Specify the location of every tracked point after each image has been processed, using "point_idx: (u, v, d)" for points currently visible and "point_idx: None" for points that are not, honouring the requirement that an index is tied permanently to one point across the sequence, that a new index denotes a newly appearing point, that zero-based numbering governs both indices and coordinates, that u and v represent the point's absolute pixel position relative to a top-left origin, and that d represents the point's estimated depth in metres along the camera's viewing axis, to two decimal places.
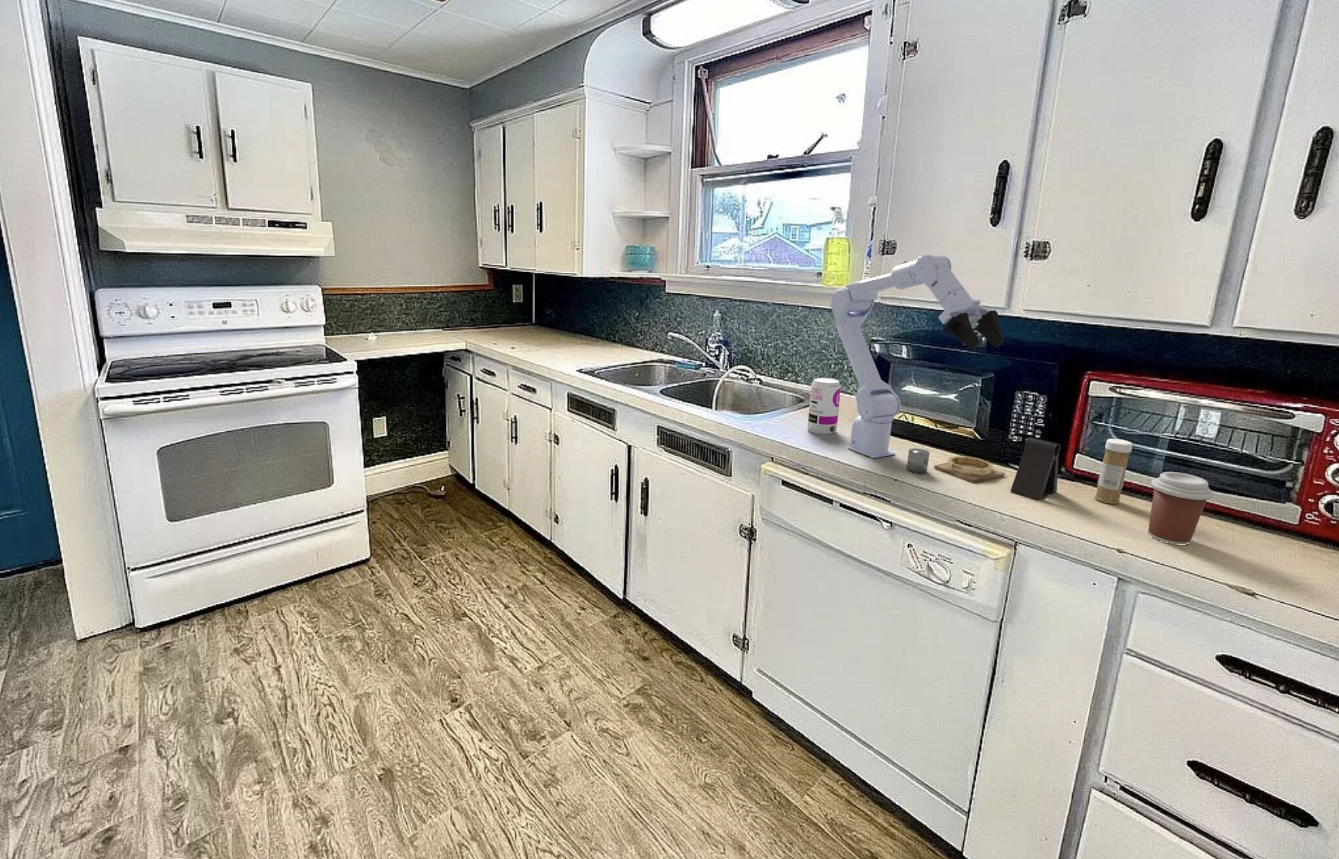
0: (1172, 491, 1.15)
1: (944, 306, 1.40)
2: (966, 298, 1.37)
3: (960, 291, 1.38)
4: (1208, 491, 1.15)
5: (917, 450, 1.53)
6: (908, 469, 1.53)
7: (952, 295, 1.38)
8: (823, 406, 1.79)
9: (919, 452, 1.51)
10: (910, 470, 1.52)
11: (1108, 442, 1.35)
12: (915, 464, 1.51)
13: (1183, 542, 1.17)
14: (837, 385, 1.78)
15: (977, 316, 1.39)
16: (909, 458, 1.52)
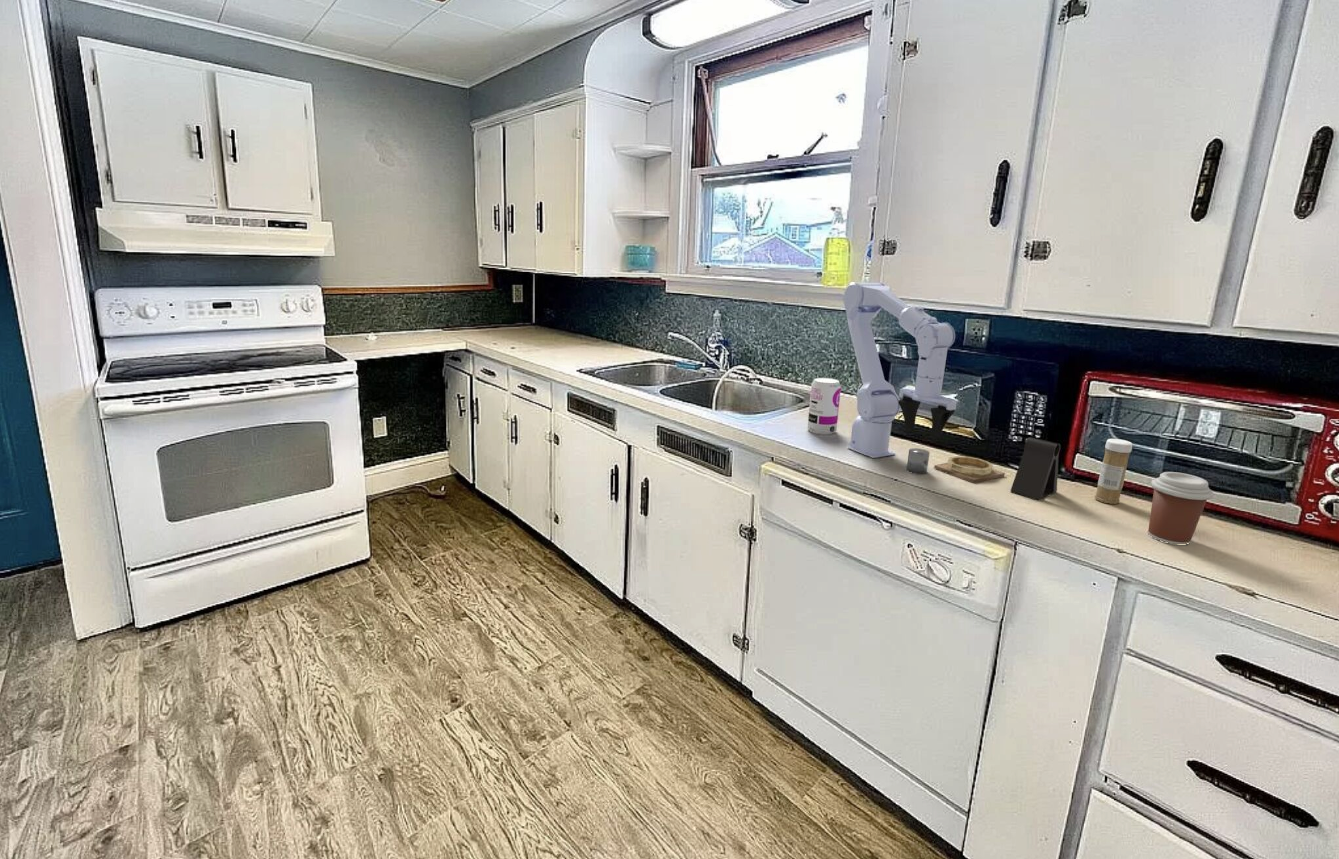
0: (1172, 491, 1.15)
1: None
2: (917, 388, 1.48)
3: (918, 379, 1.47)
4: (1208, 491, 1.15)
5: (917, 450, 1.53)
6: (908, 469, 1.53)
7: (916, 378, 1.49)
8: (823, 406, 1.79)
9: (919, 452, 1.51)
10: (910, 470, 1.52)
11: (1108, 442, 1.35)
12: (915, 464, 1.51)
13: (1183, 542, 1.17)
14: (837, 385, 1.78)
15: (935, 403, 1.46)
16: (909, 458, 1.52)
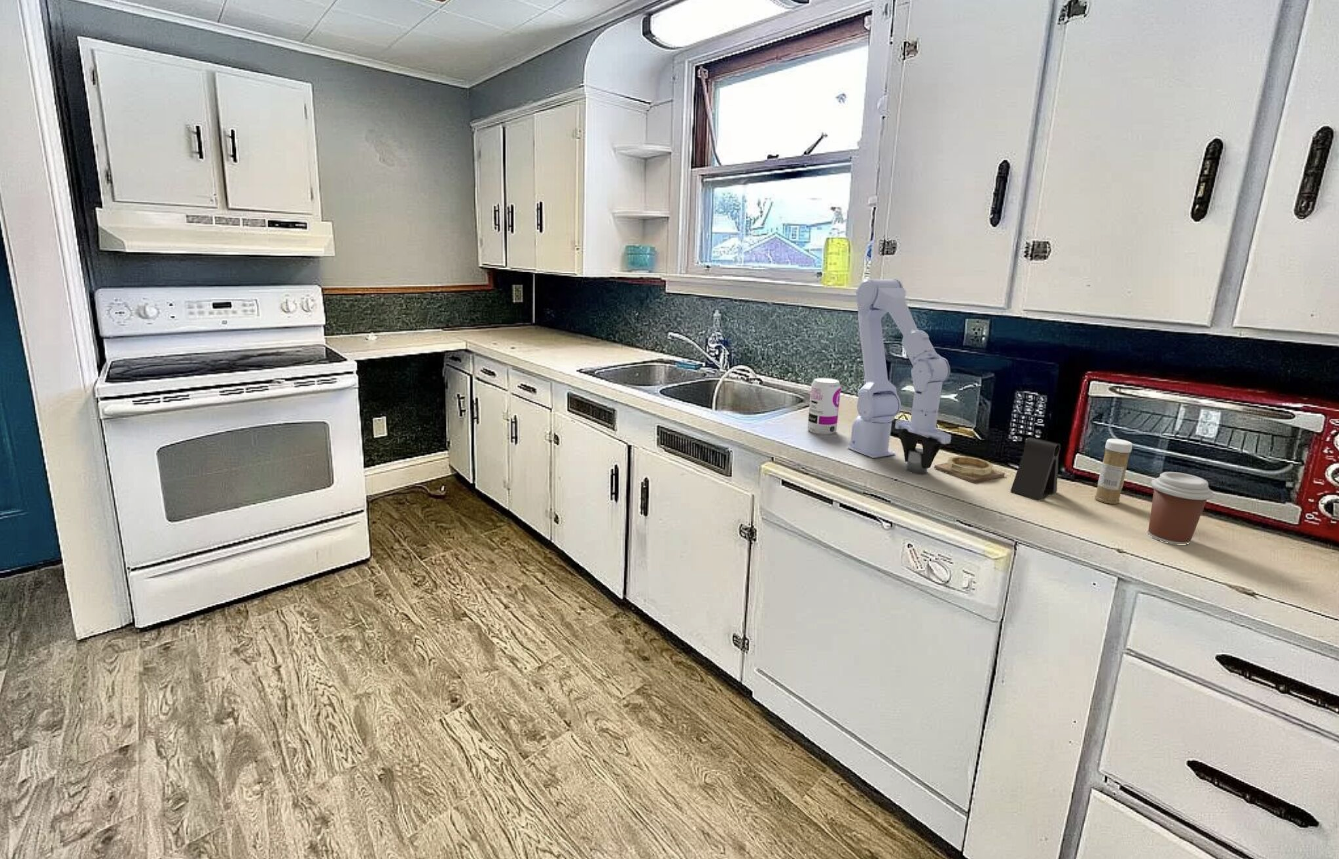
0: (1172, 491, 1.15)
1: None
2: (912, 421, 1.50)
3: (913, 412, 1.49)
4: (1208, 491, 1.15)
5: (917, 450, 1.53)
6: (908, 469, 1.53)
7: None
8: (823, 406, 1.79)
9: (919, 452, 1.51)
10: (910, 470, 1.52)
11: (1108, 442, 1.35)
12: (915, 464, 1.51)
13: (1183, 542, 1.17)
14: (837, 385, 1.78)
15: (930, 436, 1.49)
16: (909, 458, 1.52)
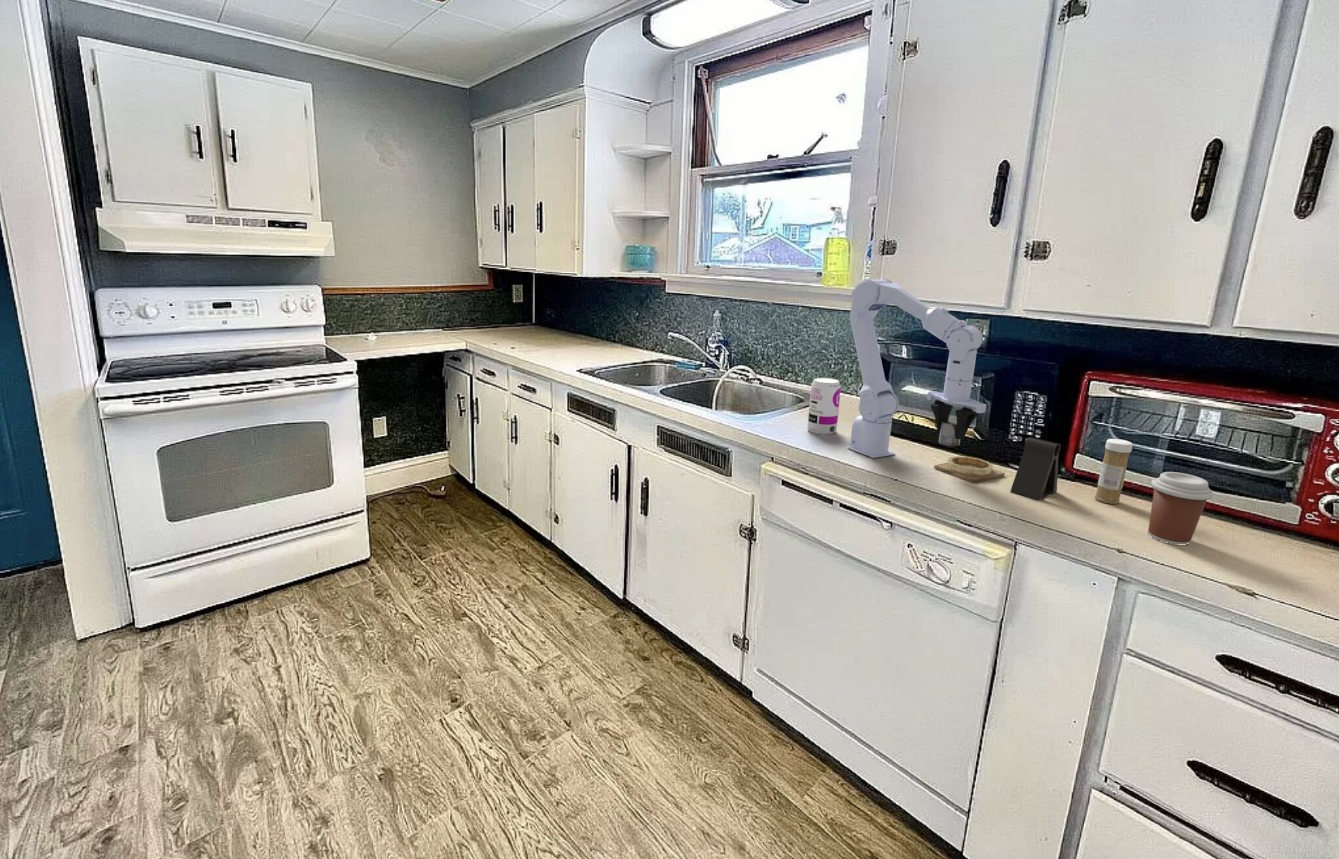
0: (1172, 491, 1.15)
1: None
2: (945, 391, 1.48)
3: (947, 382, 1.47)
4: (1208, 491, 1.15)
5: (950, 421, 1.51)
6: (940, 441, 1.51)
7: (945, 380, 1.49)
8: (823, 406, 1.79)
9: (952, 423, 1.49)
10: (942, 442, 1.50)
11: (1108, 442, 1.35)
12: (948, 436, 1.49)
13: (1183, 542, 1.17)
14: (837, 385, 1.78)
15: (964, 406, 1.47)
16: (941, 429, 1.50)
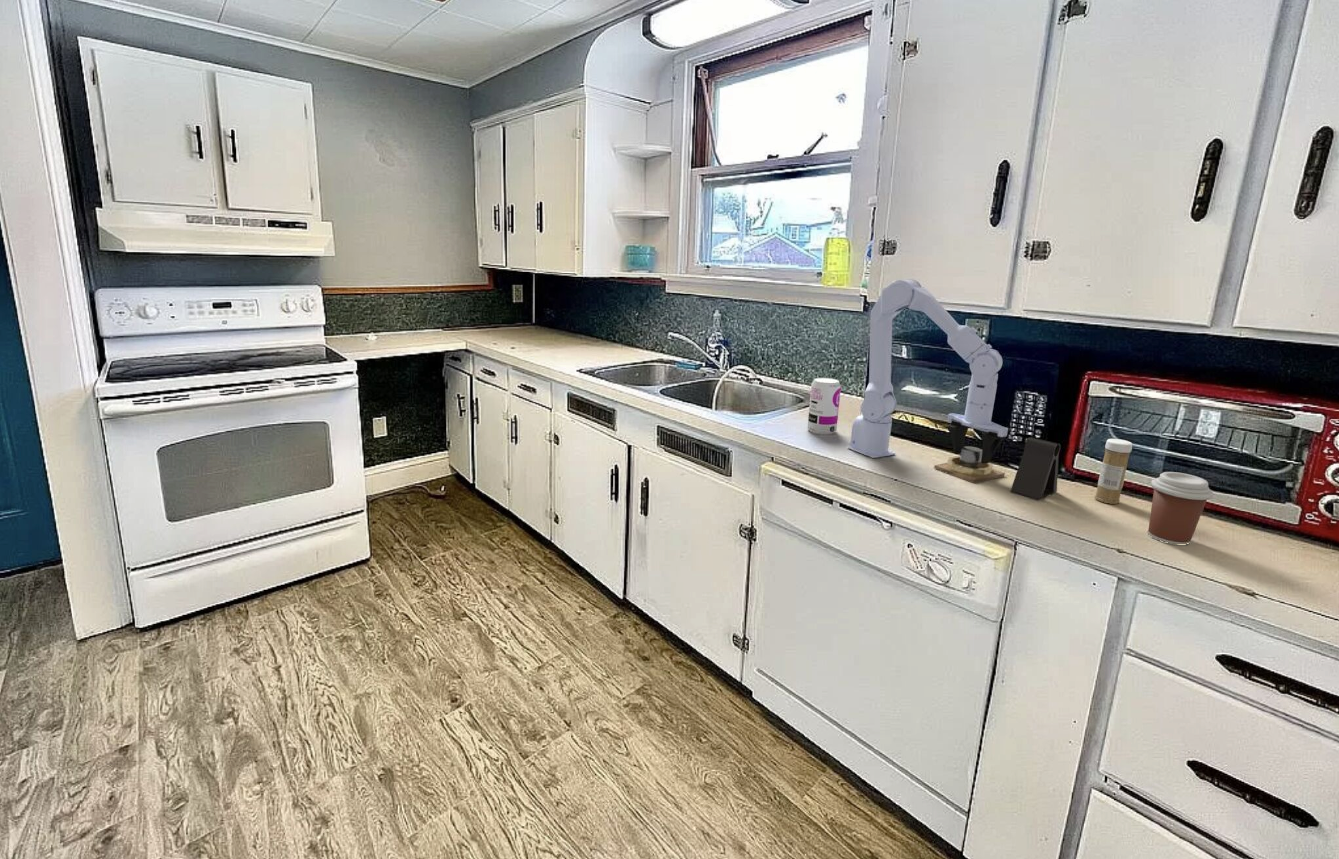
0: (1172, 491, 1.15)
1: None
2: (967, 414, 1.49)
3: (968, 405, 1.49)
4: (1208, 491, 1.15)
5: (970, 448, 1.53)
6: None
7: (966, 403, 1.50)
8: (823, 406, 1.79)
9: (972, 450, 1.51)
10: None
11: (1108, 442, 1.35)
12: (968, 462, 1.51)
13: (1183, 542, 1.17)
14: (837, 385, 1.78)
15: (985, 430, 1.48)
16: (961, 456, 1.52)
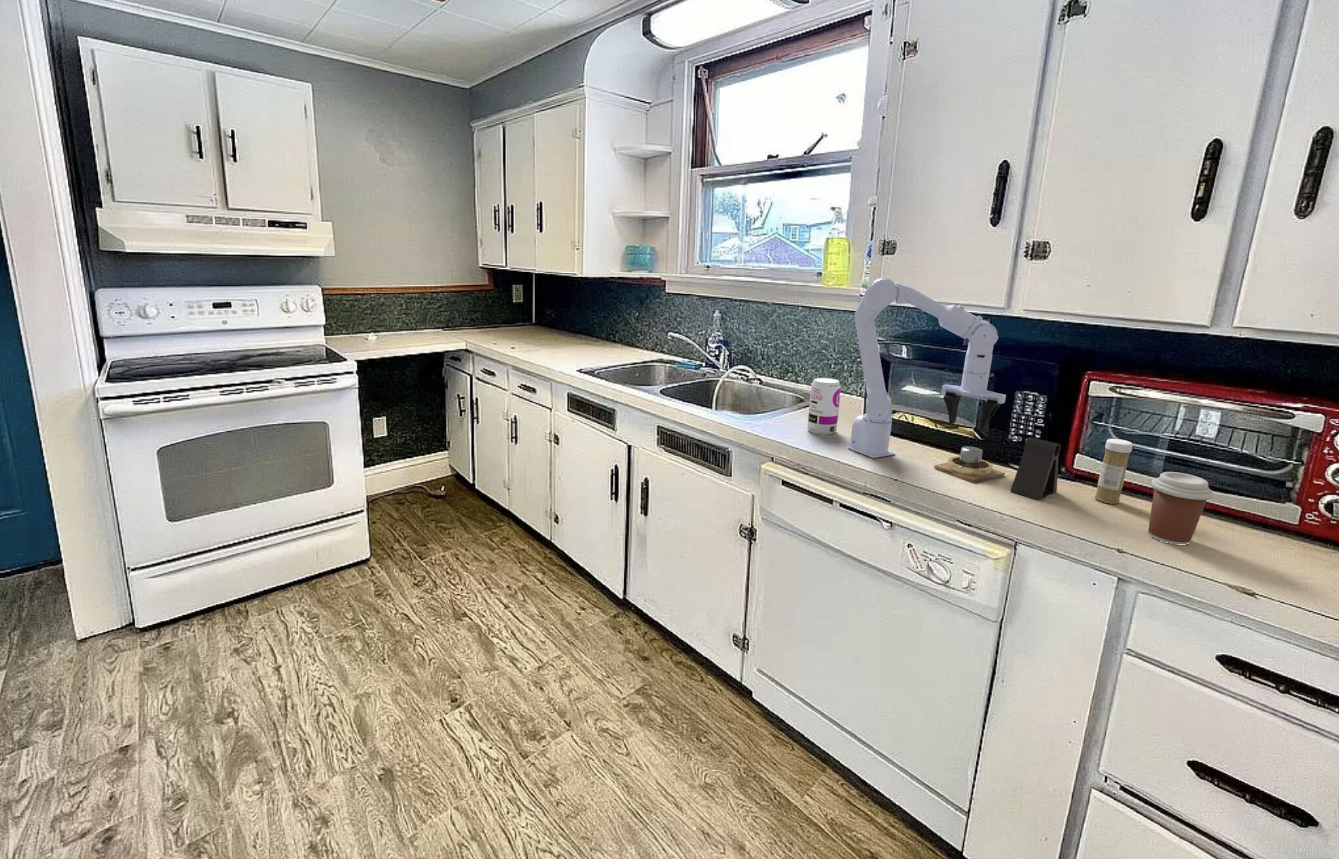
0: (1172, 491, 1.15)
1: None
2: (966, 384, 1.54)
3: (967, 375, 1.54)
4: (1208, 491, 1.15)
5: (970, 448, 1.53)
6: None
7: (963, 374, 1.55)
8: (823, 406, 1.79)
9: (972, 450, 1.51)
10: None
11: (1108, 442, 1.35)
12: (968, 462, 1.51)
13: (1183, 542, 1.17)
14: (837, 385, 1.78)
15: (983, 398, 1.54)
16: (961, 456, 1.52)
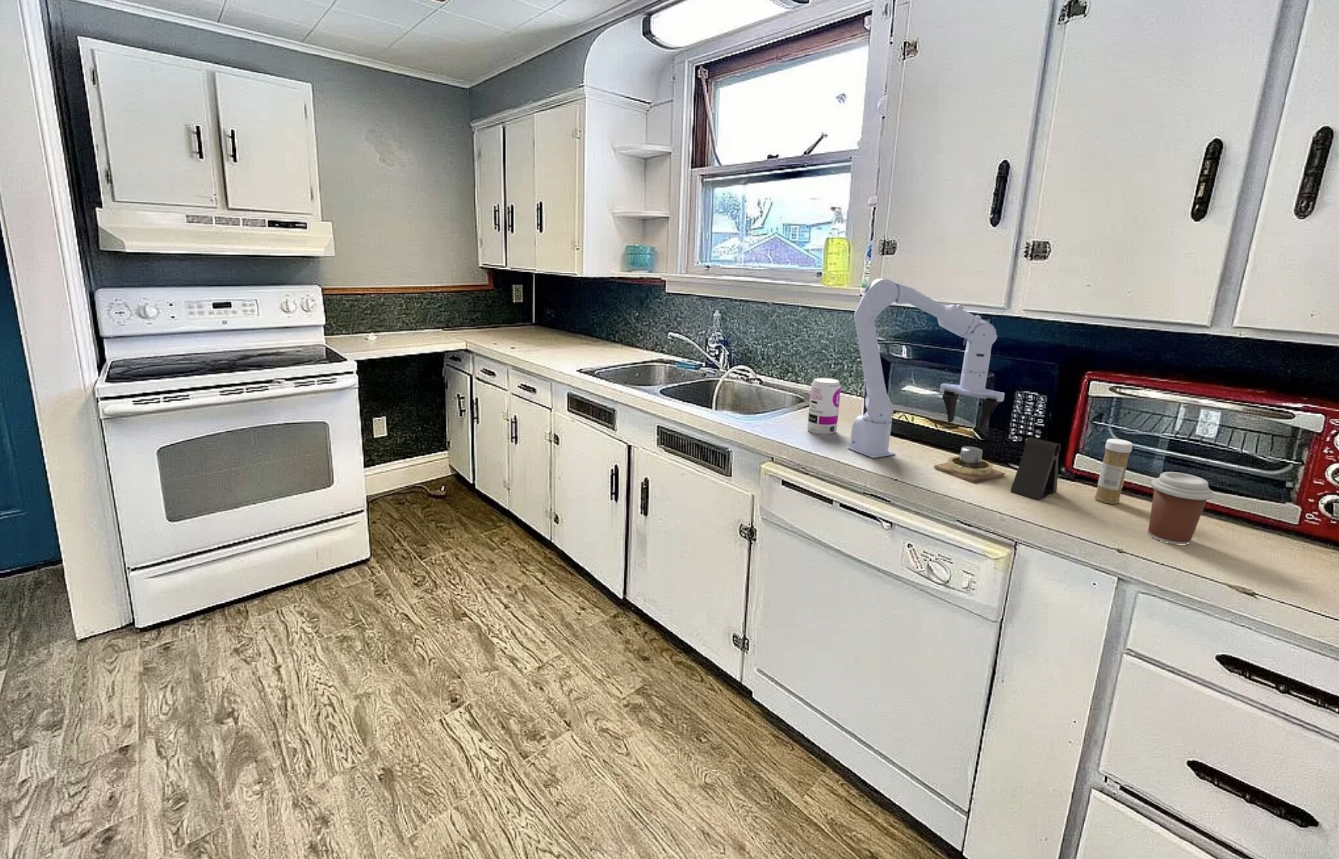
0: (1172, 491, 1.15)
1: None
2: (965, 383, 1.55)
3: (966, 374, 1.55)
4: (1208, 491, 1.15)
5: (970, 448, 1.53)
6: None
7: (962, 373, 1.57)
8: (823, 406, 1.79)
9: (972, 450, 1.51)
10: None
11: (1108, 442, 1.35)
12: (968, 462, 1.51)
13: (1183, 542, 1.17)
14: (837, 385, 1.78)
15: (982, 396, 1.56)
16: (961, 456, 1.52)
